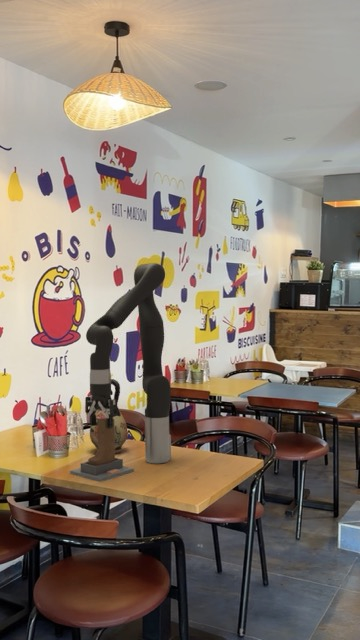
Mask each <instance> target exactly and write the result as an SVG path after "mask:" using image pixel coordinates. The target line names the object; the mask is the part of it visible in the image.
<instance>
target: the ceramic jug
mask: <svg viewBox="0 0 360 640" xmlns="http://www.w3.org/2000/svg"><path fill="white" fill-rule="evenodd" d="M111 385H113V386H114V394H113V390H112V389H111V394H110V396H109V397H110V400H113V399H116V400H117V404H118V402H119V398H120V393H121V385H120V382H119V381H118V380H116V379H114V378H111ZM112 396H113V398H112ZM107 409H108V408H107ZM108 413H109V412H108ZM113 413H114V410H113ZM95 415H96V425H94V426H91V425H90V428H89V439H90V442H91V443H92V444H93V445H94V447H95V448H96V450H97V449H98V419H100V418H106V415H105V413H103V411H100V410H97V412H96V414H95ZM113 419H114V427H115V454H116V453H120V452H121V451H122V446H123V445H124V444H125V443H126V441H127V438H128V432H129V431H128V426H127V422H126V420H125V418H124V415H123V414H122V413H121V411H120V409H119V406H118V405H117V416H115V417H113Z"/></svg>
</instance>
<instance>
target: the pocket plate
mask: <svg viewBox="0 0 360 640" xmlns="http://www.w3.org/2000/svg"><path fill="white" fill-rule="evenodd" d="M123 460H124V459H123V458H119V457H115V461H112V462H108V463H105V464H101V465H98V466H94V465H90V464H88V460H87V461H84V462H81V463H80V467H79V468H75V469H71V470H69V474H70V475H74V476H79V477H82V478H86V479H89V480H93V481H97V482H103V481H107V480H111V479H114V478H117V477H120V476H123V475H126V474H129V473H130V474H131V473H133V472H134V471H135V470H134V468H133V467H129V466H124V462H123Z"/></svg>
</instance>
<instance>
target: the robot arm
mask: <svg viewBox="0 0 360 640" xmlns="http://www.w3.org/2000/svg"><path fill="white" fill-rule="evenodd" d="M165 278H166V271H165V268H164V267H163V266H162V265H161V264H160V263H157V262H148V263H142V264H139V265H138V266H136V268H135V269H134V272H133V282H134V286H133V287H132V288H131V289H130V290H129V291H127V292H126V293H124V294H123V295H122V296H120V297H119V298H118V299H117V300H116V301H115V302H114V303H113V304H111V306H110V307H109V309H108V310H107V311H106V312H105V313H104V315H102V316H101V317H99V318H98V319H97V320H95V322H93V323H92V324H91V325H90V326H89V328H88V329H87V331H86V333H85V337H86V341H87V342H88V343H89V344H90V345H92V346H95V350H94V352H92V353H91V354H90V357H89V369H90V371H89V396H88V395H87V396H86V397H85V400H84V401H85V402H84V404H85V407H84V408H85V409H84V410H85V411H84V412H85V414H87V415H88V416H89V424H90V426H94V425H96V415H95V414H96V412H97V410H100V411H103V413H105V415H106V417H107V418H106V422H107V428H108V429H110V428H112V427H113V417H115V416H117V406H118V403H117V400H116V399H114V398H112V400H110V397H109V396H110V394H111V390H112V384H111V379H112V373H111V354H112V350H113V345H114V333H113V331H112V330H115V329H118V328H120V327H121V326H122V324H123V323H125V321H126V320H127V318H128V317H129V316H130V315H131V314H132V313H133V312H134V310H135V309H136V308H137V309H138V311H137V312H138V320H139V321H138V322H139V324H138V325H139V326H138V327H139V338H140V348H141V356H142V381H141V382H142V383H141V384H142V389H143V390H142V391H143V392H144V393H145V394H146V407H145V409H144V445H145V447H144V448H145V449H144V453H145V455H144V456H145V462H146V463H149V464H165V463H168V462H170V460H172V435H171V434H170V410H171V402H172V401H171V395H172V393H171V392H172V391H171V384H170V383H171V382H170V381H169V379H168V377H166V376H164V374H163V366H162V356H163V355H162V354H163V350H164V345H165V344H164V343H165V327H164V319H163V317H162V315H161V312H160V311H159V309H158V307H157V305H156V302H155V297H154V291H156V289H158V288H159V287H160V286H161V285H162V284H163V282H164V281H165ZM107 408H108V409H107ZM113 410H114V413H113ZM108 412H109V413H108Z"/></svg>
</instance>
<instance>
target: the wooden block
mask: <svg viewBox="0 0 360 640" xmlns="http://www.w3.org/2000/svg"><path fill="white" fill-rule="evenodd" d="M106 418H107V417H106ZM106 418H100V419H98V449H97V448H96V452H95V454H94V455H93V456H91V457H89V458H88V459H87V461H88V464H90V465H94V466H98V465H101V464H105V463H108V462H112V461H115V458H116V453H115V427H114V419H113V427H112V428H110V429H108V428H107V422H106Z"/></svg>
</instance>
